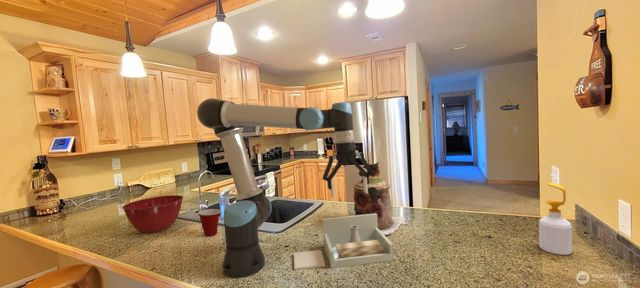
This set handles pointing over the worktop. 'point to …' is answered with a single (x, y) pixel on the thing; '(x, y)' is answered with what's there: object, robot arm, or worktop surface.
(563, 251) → the soap bottle
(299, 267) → the mat
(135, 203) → the mixing bowl
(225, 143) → the robot arm
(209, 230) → the plastic cup
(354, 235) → the flask
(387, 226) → the cookie jar
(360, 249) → the light brown wooden block
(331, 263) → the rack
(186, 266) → the worktop surface
